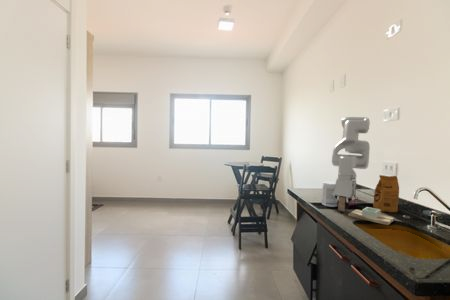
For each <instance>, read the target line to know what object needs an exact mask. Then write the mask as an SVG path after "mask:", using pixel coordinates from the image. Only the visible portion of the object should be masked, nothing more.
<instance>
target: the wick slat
mask: <svg viewBox="0 0 450 300" xmlns="http://www.w3.org/2000/svg"><path fill="white" fill-rule="evenodd" d="M345 202H346V197H343V196H339V204H338V205H337V210H338V211H340V212H345V211H347V210H348V208H347V209H345Z"/></svg>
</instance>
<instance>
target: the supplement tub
mask: <svg viewBox="0 0 450 300" xmlns="http://www.w3.org/2000/svg"><path fill="white" fill-rule="evenodd" d="M335 184H336V181H323V182H322V193H321V205H323V206H324V207H329V208H335V207H338V205H337V199H336V198H335V196H333V195H332V193H333V192H334V190H335ZM337 196H338V195H337Z"/></svg>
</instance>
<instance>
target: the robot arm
mask: <svg viewBox="0 0 450 300" xmlns="http://www.w3.org/2000/svg"><path fill="white" fill-rule="evenodd" d="M340 122H341V123H340V124H341V126H342V129H343V131H342V137H341V140H340V141H339V142H338V143H336V145H335V146H334V147H333V149H332V155H331V164H332V166H334V167H338V174H337V175H338V176H337V178H336V180H335V183H336V184H335V190H334V192H333V193H332V195H333V196H335V198H336V199H337V206H338V204H339V196H343V197H346V202H345V209H347V210H348V209H349V202H350V201H351V200H354V199H356V200H357V199H358V198H357V196H355V195H354V182H353V180H356V181H357V173H356V171H355V169H357V170H358V169H359V170H366V169H368V167H369V164H370V163H369V162H370V161H369V160H370V143H369V141H367V140H360V139H359V136H360V135H359V134H367V133H369V130H370V124H371V121H370V118H368V117H367V116H366V117H365V116H364V117H361V116H358V117H357V116H346V117H343V118H341V121H340ZM343 149H344V151H345V152H346V153H347V154H342V153H341V154H339V152H340V151H342V150H343ZM337 195H338V196H337ZM350 197H352V198H350Z"/></svg>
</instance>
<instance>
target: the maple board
mask: <svg viewBox="0 0 450 300" xmlns="http://www.w3.org/2000/svg"><path fill="white" fill-rule="evenodd" d="M348 217H350V218H351V217H352V218H355V217H356V219H359V218H360V220H364V221H369V222H373V223H377V224H381V225H386V226H389V225H390V224H391V223H392V222H394V221H395V217H394V216H390V215H385V214H381V213H380V216H379V217H377V218H371V217H367V216H362V210H361V209H354V210H352V211H351V212H349V213H348Z"/></svg>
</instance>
